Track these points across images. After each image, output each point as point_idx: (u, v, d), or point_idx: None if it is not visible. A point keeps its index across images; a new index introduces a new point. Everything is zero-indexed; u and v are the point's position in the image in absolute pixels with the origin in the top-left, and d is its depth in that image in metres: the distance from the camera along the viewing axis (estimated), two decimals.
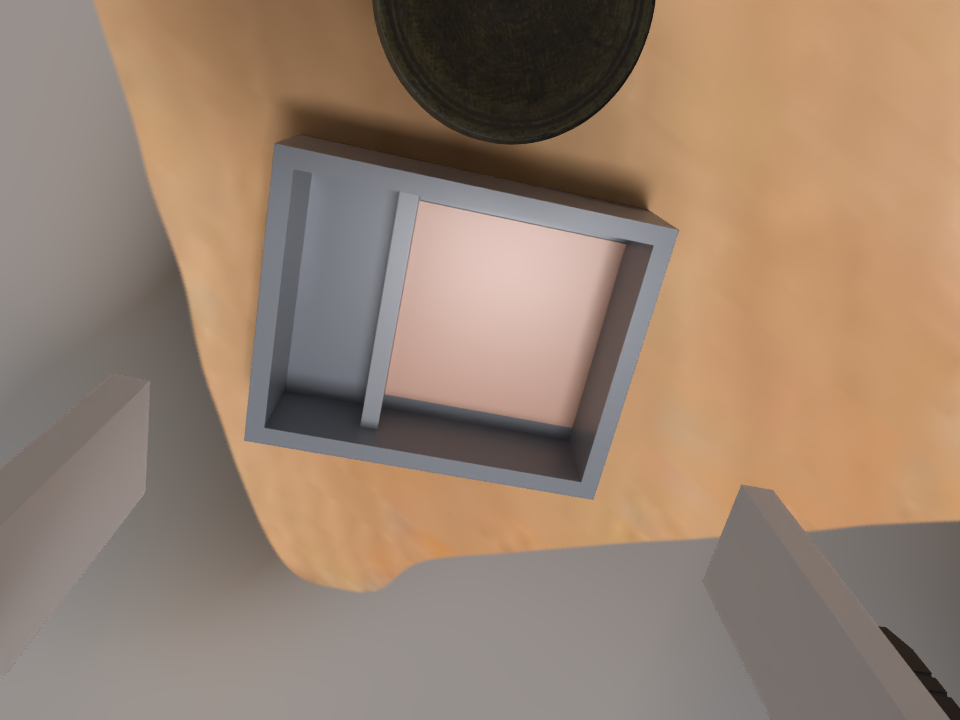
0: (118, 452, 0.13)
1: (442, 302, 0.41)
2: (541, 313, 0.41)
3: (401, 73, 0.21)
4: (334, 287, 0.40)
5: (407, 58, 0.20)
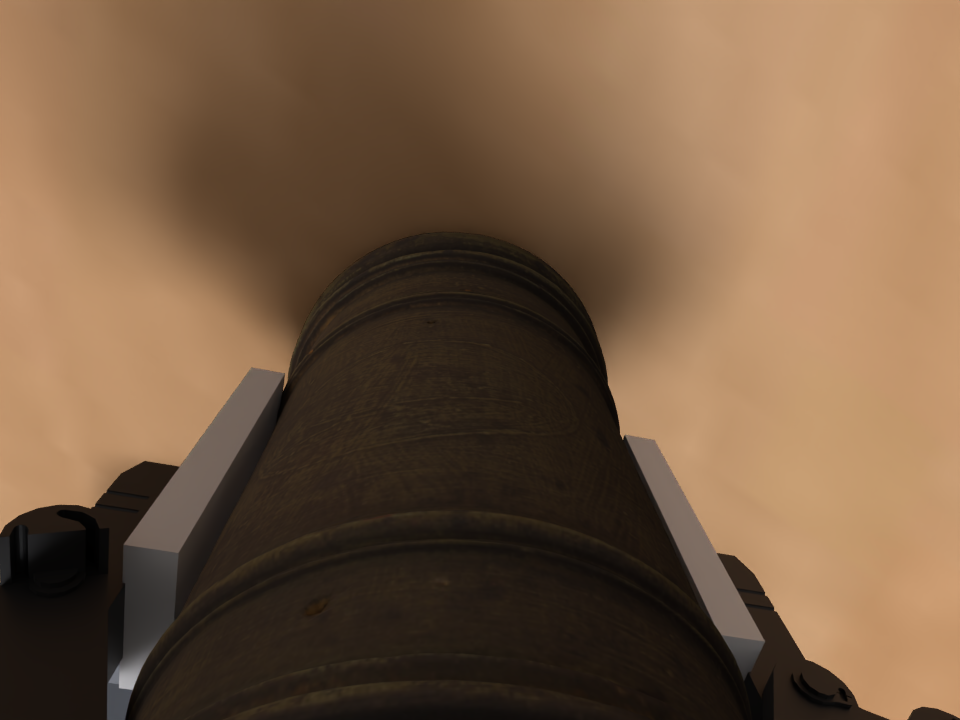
0: (265, 436, 0.15)
1: None
2: None
3: None
4: None
5: None
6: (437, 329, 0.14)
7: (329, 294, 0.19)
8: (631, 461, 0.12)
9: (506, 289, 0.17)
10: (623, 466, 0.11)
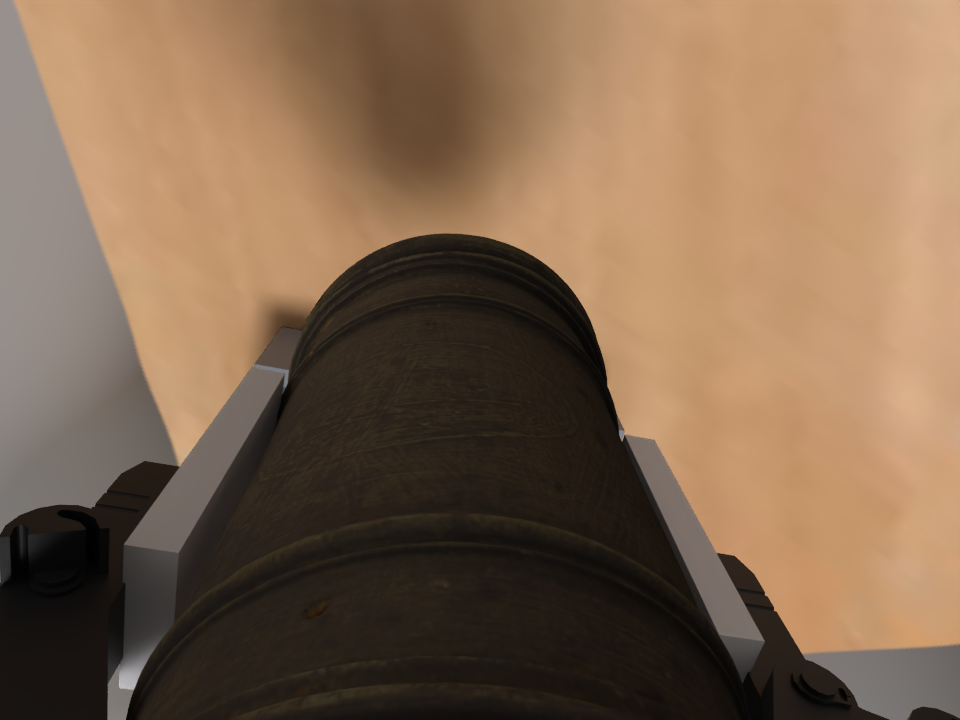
0: (265, 436, 0.15)
1: None
2: None
3: None
4: None
5: None
6: (436, 330, 0.14)
7: (329, 295, 0.19)
8: (630, 463, 0.13)
9: (506, 291, 0.17)
10: (622, 468, 0.11)
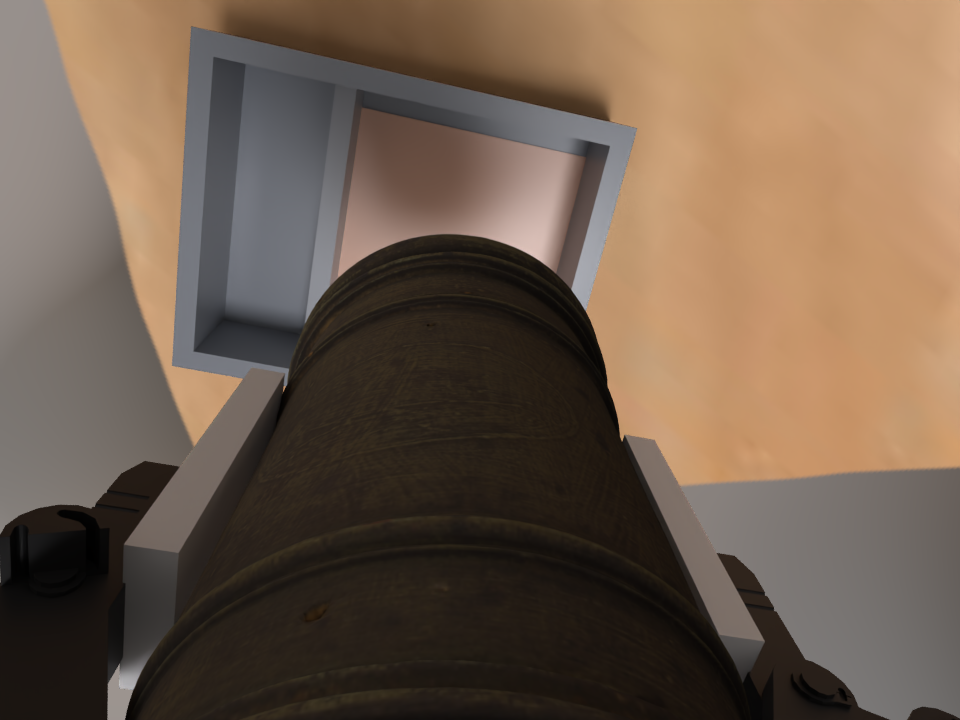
0: (265, 436, 0.15)
1: (390, 222, 0.38)
2: (496, 235, 0.38)
3: None
4: (273, 205, 0.38)
5: None
6: (436, 332, 0.14)
7: (329, 296, 0.19)
8: (631, 464, 0.12)
9: (506, 291, 0.17)
10: (623, 469, 0.11)
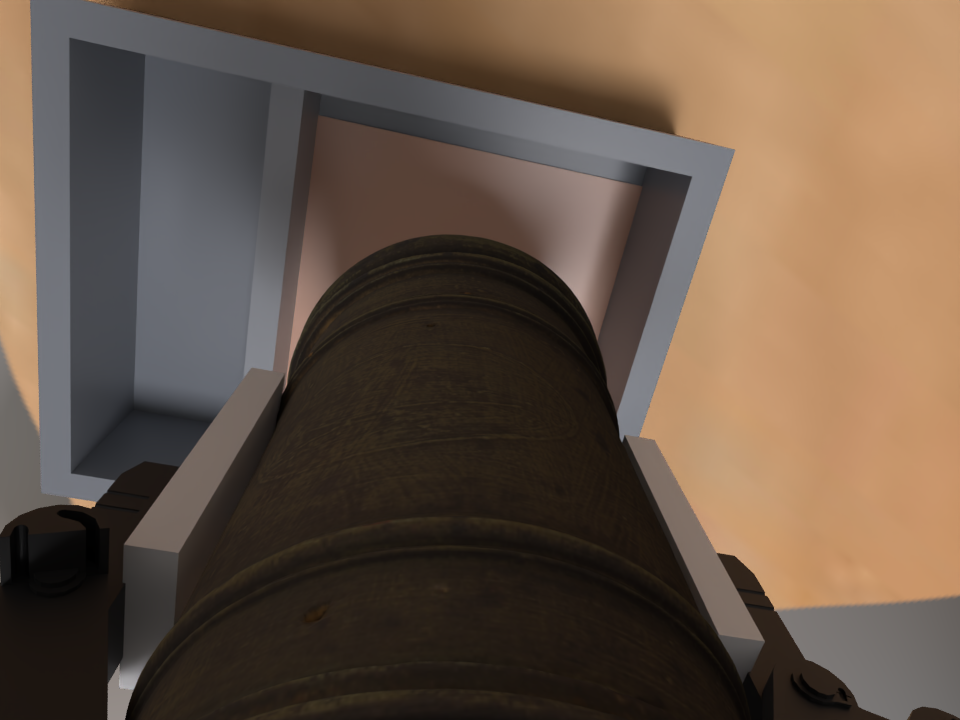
0: (265, 436, 0.15)
1: None
2: None
3: None
4: (195, 254, 0.26)
5: None
6: (436, 332, 0.14)
7: (329, 296, 0.19)
8: (631, 465, 0.12)
9: (506, 292, 0.17)
10: (623, 470, 0.11)
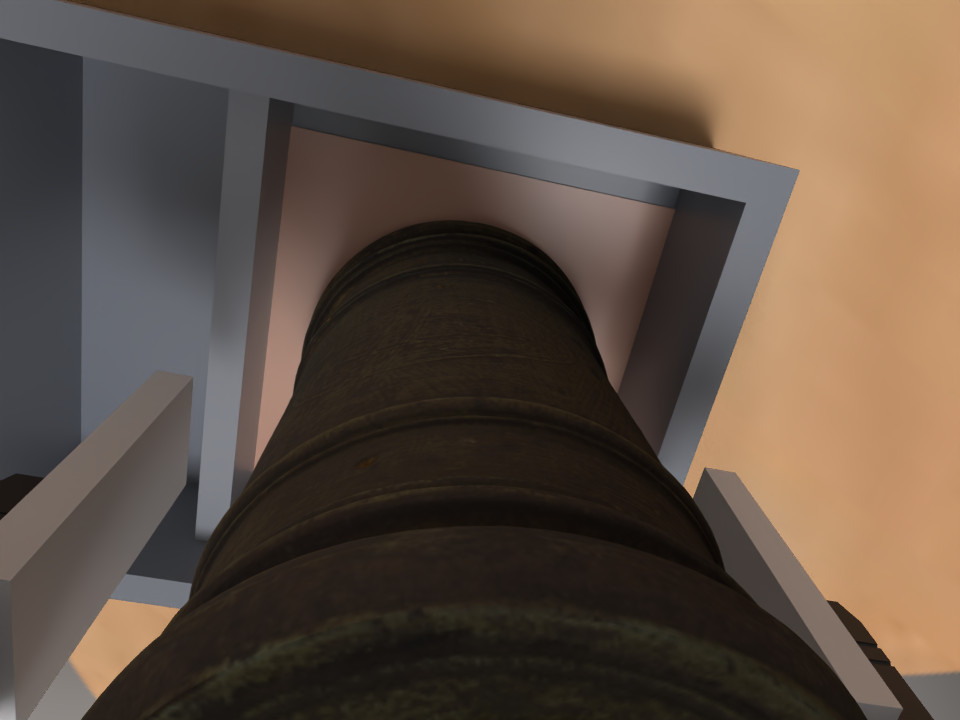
0: (166, 445, 0.14)
1: None
2: None
3: None
4: (148, 288, 0.22)
5: None
6: (446, 290, 0.15)
7: (339, 277, 0.21)
8: None
9: (505, 265, 0.18)
10: (614, 396, 0.13)
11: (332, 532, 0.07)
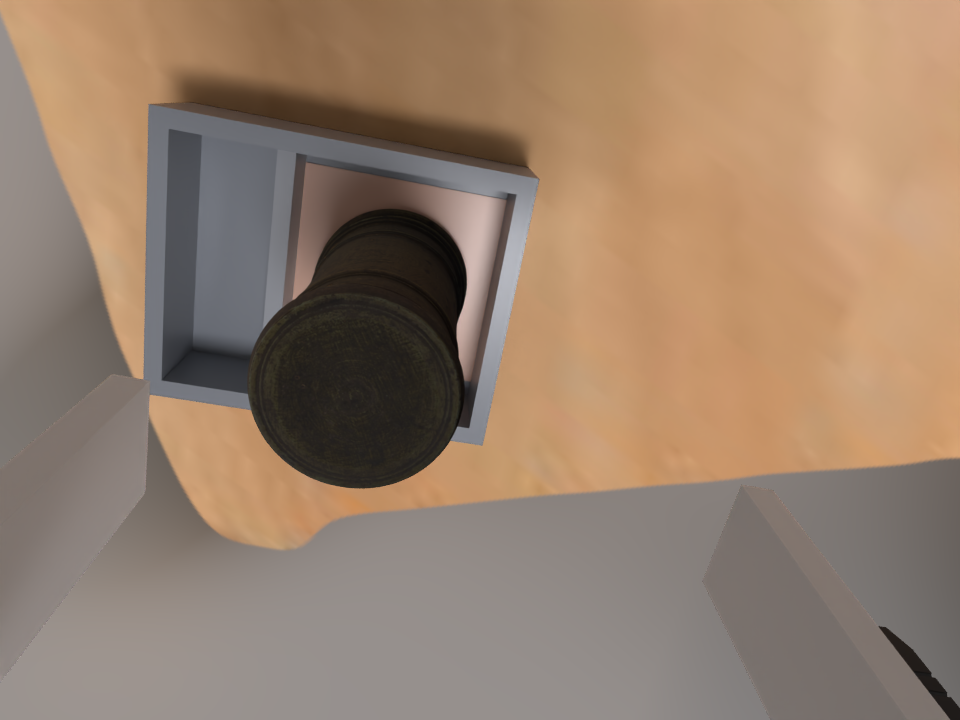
0: (118, 452, 0.13)
1: None
2: None
3: None
4: (231, 248, 0.42)
5: (277, 441, 0.27)
6: (373, 241, 0.35)
7: None
8: (443, 285, 0.34)
9: (409, 231, 0.38)
10: (432, 279, 0.33)
11: None
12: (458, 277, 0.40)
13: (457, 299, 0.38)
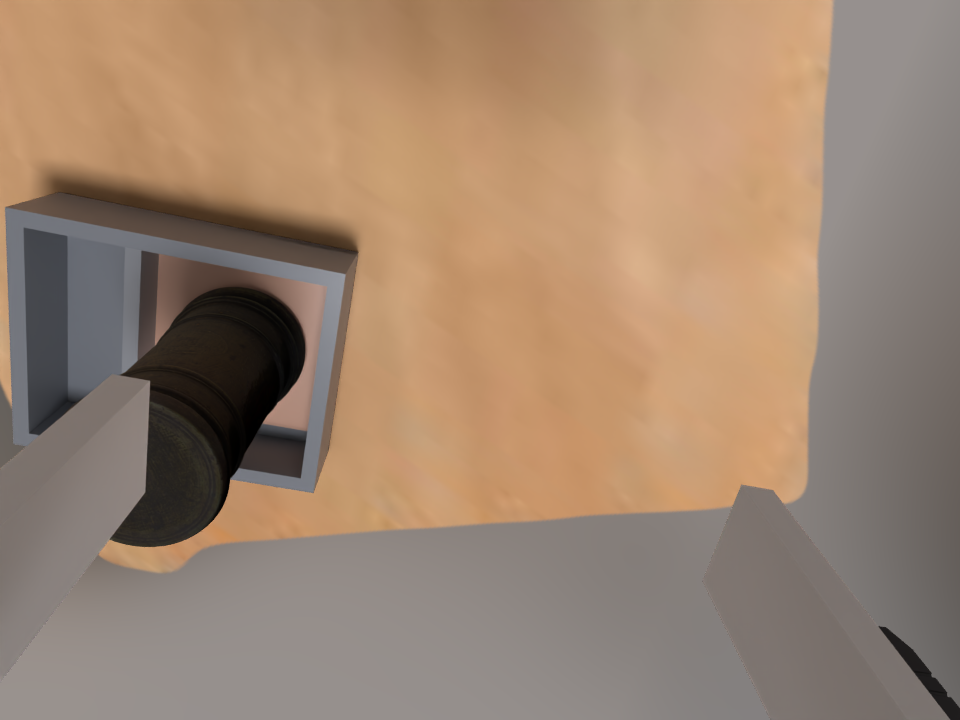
0: (118, 452, 0.13)
1: None
2: None
3: None
4: (98, 316, 0.49)
5: None
6: (197, 326, 0.41)
7: None
8: (251, 367, 0.40)
9: (240, 311, 0.45)
10: (235, 365, 0.39)
11: None
12: (289, 349, 0.47)
13: (279, 372, 0.44)
